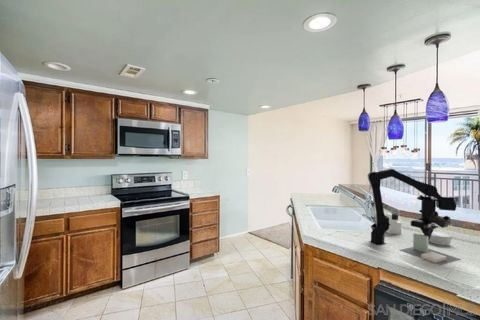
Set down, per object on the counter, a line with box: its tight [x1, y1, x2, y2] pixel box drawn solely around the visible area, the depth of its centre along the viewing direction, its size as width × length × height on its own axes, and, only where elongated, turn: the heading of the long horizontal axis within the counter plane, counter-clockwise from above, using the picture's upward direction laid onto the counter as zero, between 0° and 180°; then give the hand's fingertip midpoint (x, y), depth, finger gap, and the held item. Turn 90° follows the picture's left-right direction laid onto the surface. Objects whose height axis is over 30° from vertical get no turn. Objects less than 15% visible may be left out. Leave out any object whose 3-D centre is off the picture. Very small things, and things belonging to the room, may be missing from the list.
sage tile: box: [412, 232, 429, 253], centre depth 119 cm, size 2×6×8 cm, turn 22°
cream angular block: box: [420, 252, 447, 264], centre depth 110 cm, size 2×6×8 cm
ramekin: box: [428, 230, 453, 247], centre depth 131 cm, size 11×11×5 cm
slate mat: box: [399, 246, 462, 266], centre depth 115 cm, size 16×18×1 cm
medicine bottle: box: [385, 212, 402, 235], centre depth 149 cm, size 7×7×12 cm
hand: (427, 239), depth 122 cm, fingers closed
